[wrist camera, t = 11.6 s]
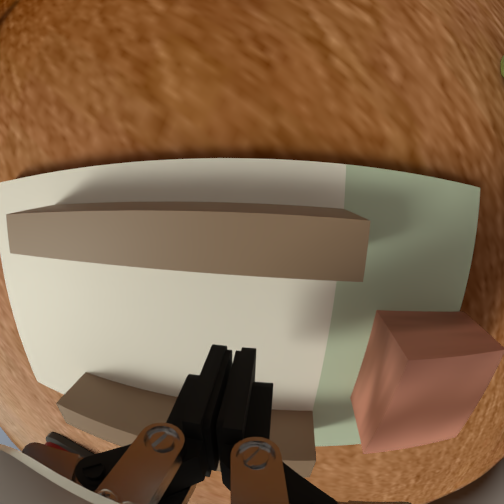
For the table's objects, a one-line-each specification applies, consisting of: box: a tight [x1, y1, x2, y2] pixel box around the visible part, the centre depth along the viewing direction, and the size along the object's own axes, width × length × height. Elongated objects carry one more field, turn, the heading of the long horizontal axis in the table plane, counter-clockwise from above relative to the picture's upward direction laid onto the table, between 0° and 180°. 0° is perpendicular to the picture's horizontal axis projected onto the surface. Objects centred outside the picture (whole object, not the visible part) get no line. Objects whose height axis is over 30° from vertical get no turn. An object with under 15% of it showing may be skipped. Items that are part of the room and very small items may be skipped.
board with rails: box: [0, 158, 480, 477], centre depth 13 cm, size 18×32×6 cm, turn 88°
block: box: [350, 310, 504, 454], centre depth 11 cm, size 6×6×4 cm
